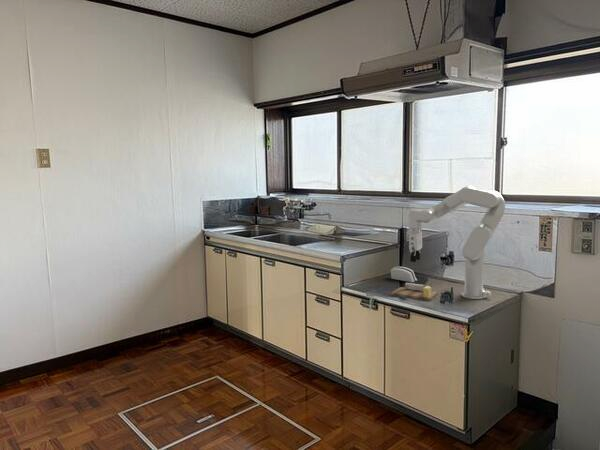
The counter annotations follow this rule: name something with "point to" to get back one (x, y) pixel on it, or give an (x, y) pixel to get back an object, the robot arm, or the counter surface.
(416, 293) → the brown wooden board
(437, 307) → the counter surface
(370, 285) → the counter surface
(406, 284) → the latch bar
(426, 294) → the keeper block
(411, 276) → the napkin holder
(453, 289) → the counter surface
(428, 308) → the counter surface
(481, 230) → the robot arm
